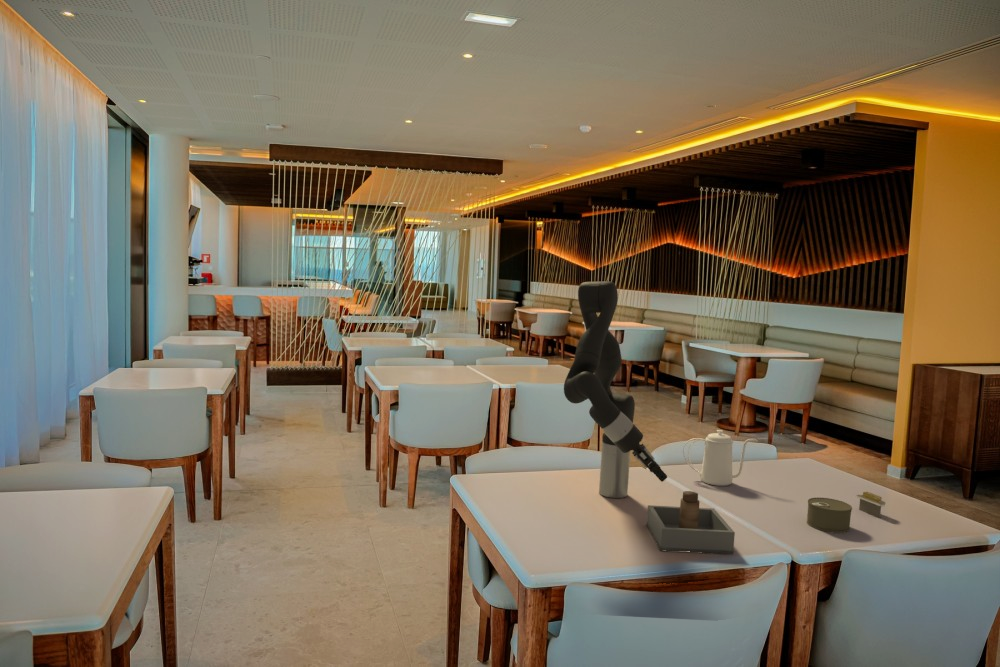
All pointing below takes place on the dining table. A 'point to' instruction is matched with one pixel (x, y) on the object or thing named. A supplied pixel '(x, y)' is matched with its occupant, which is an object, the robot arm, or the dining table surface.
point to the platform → (871, 503)
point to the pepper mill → (689, 510)
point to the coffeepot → (718, 459)
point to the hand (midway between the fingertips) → (661, 474)
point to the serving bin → (690, 531)
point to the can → (829, 515)
